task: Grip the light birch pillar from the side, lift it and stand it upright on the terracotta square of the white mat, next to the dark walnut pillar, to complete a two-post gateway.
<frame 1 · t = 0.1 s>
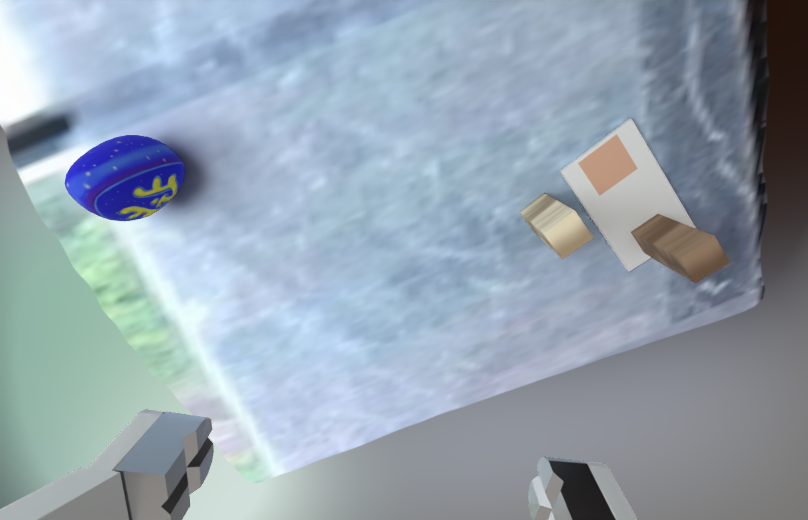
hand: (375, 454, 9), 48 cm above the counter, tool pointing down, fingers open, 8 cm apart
walnut pillar: (650, 233, 56), resting on white mat
birch pillar: (539, 213, 56), on the counter
ornament: (164, 170, 55), on the counter
white mat: (627, 200, 55), on the counter
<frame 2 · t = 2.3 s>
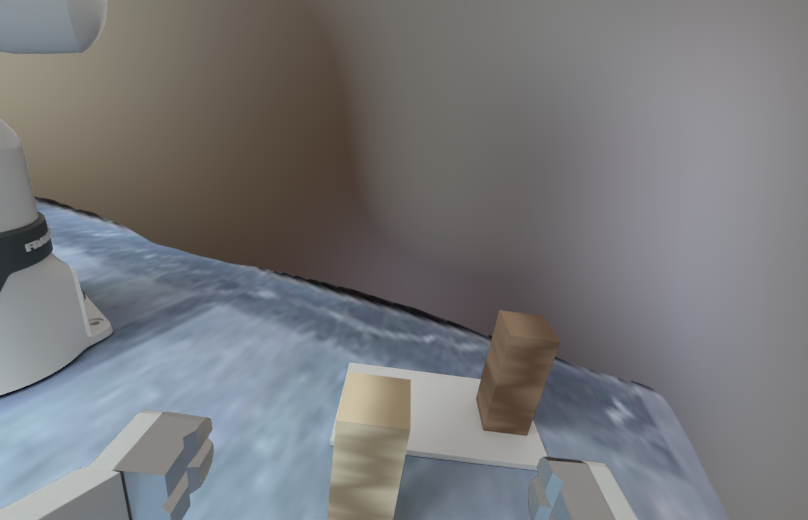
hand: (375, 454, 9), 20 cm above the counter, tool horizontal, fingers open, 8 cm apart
walnut pillar: (500, 416, 38), resting on white mat
birch pillar: (360, 512, 28), on the counter
white mat: (437, 412, 38), on the counter
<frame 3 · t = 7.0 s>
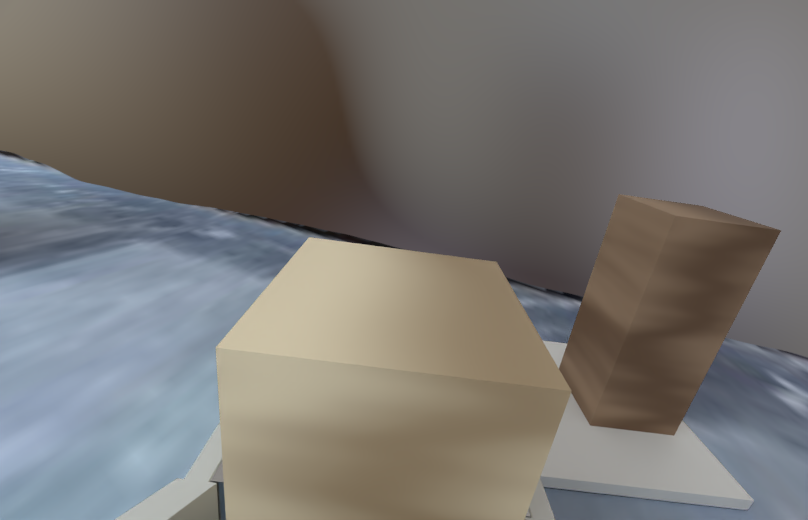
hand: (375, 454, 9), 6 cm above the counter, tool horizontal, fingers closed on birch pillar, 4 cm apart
walnut pillar: (610, 399, 21), resting on white mat
white mat: (495, 394, 21), on the counter
when the fingers open (8 cm above the counter, at t = 11.7 s): birch pillar drops 1 cm, resting on white mat.
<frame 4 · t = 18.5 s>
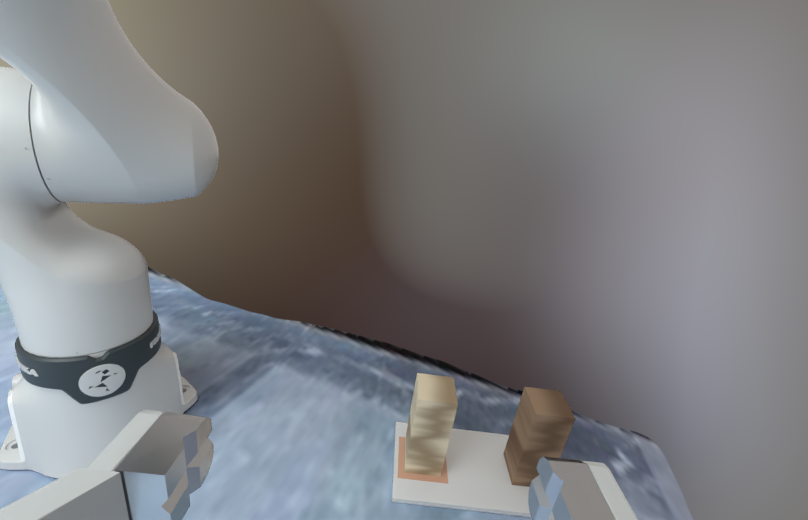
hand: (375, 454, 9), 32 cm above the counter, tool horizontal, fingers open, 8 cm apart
walnut pillar: (524, 470, 47), resting on white mat
birch pillar: (421, 458, 46), point 1 cm above the counter, touching white mat
white mat: (472, 468, 47), on the counter
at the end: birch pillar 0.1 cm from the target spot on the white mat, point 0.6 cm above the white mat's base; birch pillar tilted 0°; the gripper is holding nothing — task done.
